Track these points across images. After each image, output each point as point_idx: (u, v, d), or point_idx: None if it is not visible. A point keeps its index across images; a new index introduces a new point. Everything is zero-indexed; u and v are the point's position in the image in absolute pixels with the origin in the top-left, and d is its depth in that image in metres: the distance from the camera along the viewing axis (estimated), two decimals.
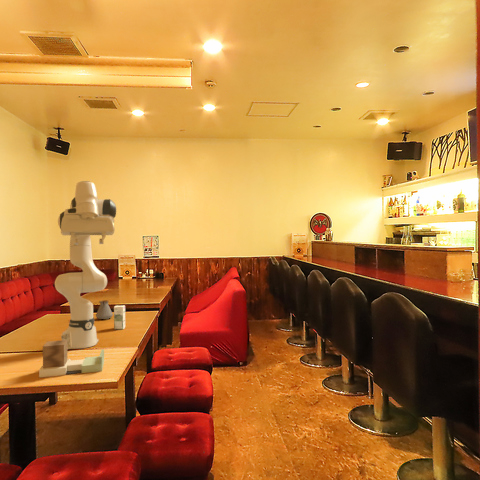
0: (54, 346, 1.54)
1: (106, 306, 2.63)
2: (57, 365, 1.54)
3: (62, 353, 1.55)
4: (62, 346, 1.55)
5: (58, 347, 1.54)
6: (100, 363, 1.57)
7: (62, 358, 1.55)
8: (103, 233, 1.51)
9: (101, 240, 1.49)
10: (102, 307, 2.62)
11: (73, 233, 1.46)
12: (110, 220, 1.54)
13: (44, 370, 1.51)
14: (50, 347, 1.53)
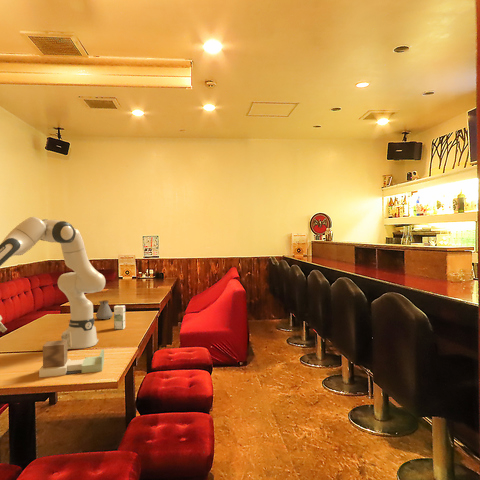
0: (54, 346, 1.54)
1: (106, 306, 2.63)
2: (57, 365, 1.54)
3: (62, 353, 1.55)
4: (62, 346, 1.55)
5: (58, 347, 1.54)
6: (100, 363, 1.57)
7: (62, 358, 1.55)
8: None
9: None
10: (102, 307, 2.62)
11: None
12: None
13: (44, 370, 1.51)
14: (50, 347, 1.53)
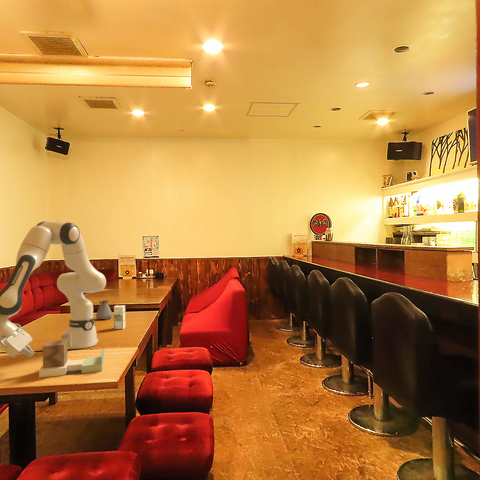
0: (54, 346, 1.54)
1: (106, 306, 2.63)
2: (57, 365, 1.54)
3: (62, 353, 1.55)
4: (62, 346, 1.55)
5: (58, 347, 1.54)
6: (100, 363, 1.57)
7: (62, 358, 1.55)
8: None
9: None
10: (102, 307, 2.62)
11: None
12: None
13: (44, 370, 1.51)
14: (50, 347, 1.53)
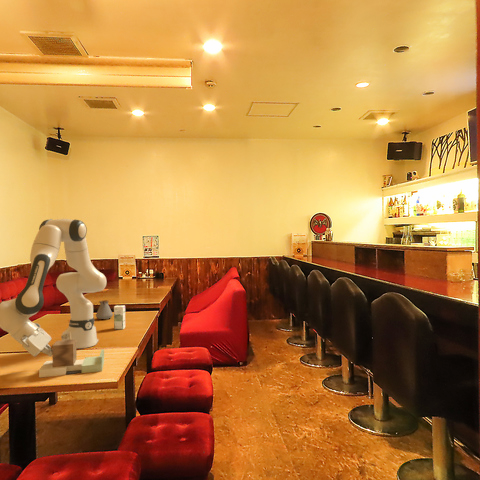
0: (63, 345, 1.55)
1: (106, 306, 2.63)
2: (66, 364, 1.55)
3: (71, 352, 1.56)
4: (71, 345, 1.56)
5: (67, 346, 1.55)
6: (100, 363, 1.57)
7: (71, 357, 1.56)
8: None
9: None
10: (102, 307, 2.62)
11: None
12: None
13: (44, 370, 1.51)
14: (60, 346, 1.54)
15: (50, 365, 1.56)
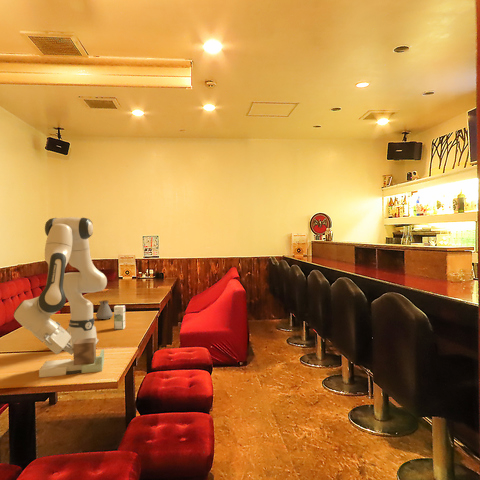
0: (84, 344, 1.57)
1: (106, 306, 2.63)
2: (87, 362, 1.57)
3: (92, 350, 1.58)
4: (92, 344, 1.58)
5: (88, 345, 1.57)
6: (100, 363, 1.57)
7: (92, 355, 1.58)
8: None
9: None
10: (102, 307, 2.62)
11: None
12: None
13: (44, 370, 1.51)
14: (80, 345, 1.56)
15: (50, 365, 1.56)
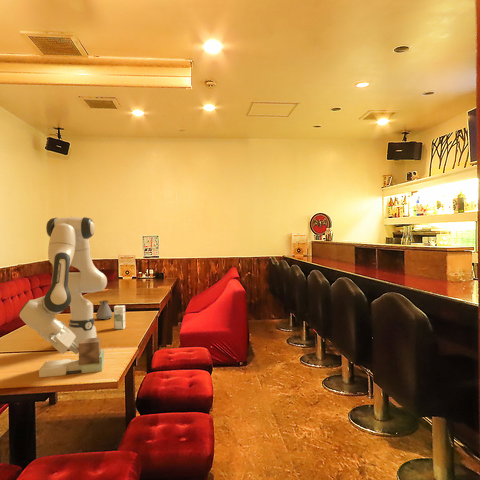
0: (89, 343, 1.57)
1: (106, 306, 2.63)
2: (92, 362, 1.58)
3: (97, 350, 1.58)
4: (97, 343, 1.58)
5: (93, 344, 1.58)
6: (100, 363, 1.57)
7: (97, 355, 1.58)
8: None
9: None
10: (102, 307, 2.62)
11: None
12: None
13: (44, 370, 1.51)
14: (85, 344, 1.57)
15: (50, 365, 1.56)
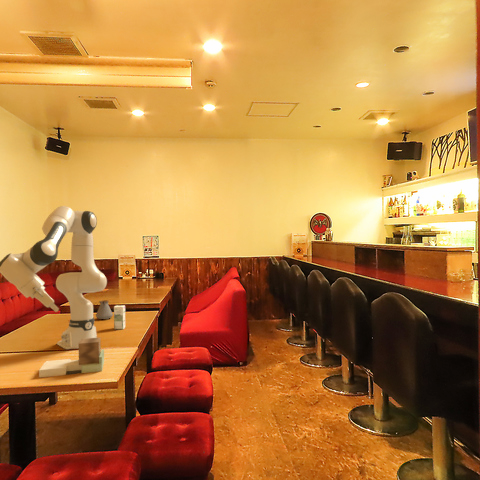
0: (89, 343, 1.57)
1: (106, 306, 2.63)
2: (92, 362, 1.58)
3: (97, 350, 1.58)
4: (97, 343, 1.58)
5: (93, 344, 1.58)
6: (100, 363, 1.57)
7: (97, 355, 1.58)
8: (48, 306, 1.54)
9: (54, 310, 1.56)
10: (102, 307, 2.62)
11: None
12: (37, 298, 1.46)
13: (44, 370, 1.51)
14: (85, 344, 1.57)
15: (50, 365, 1.56)
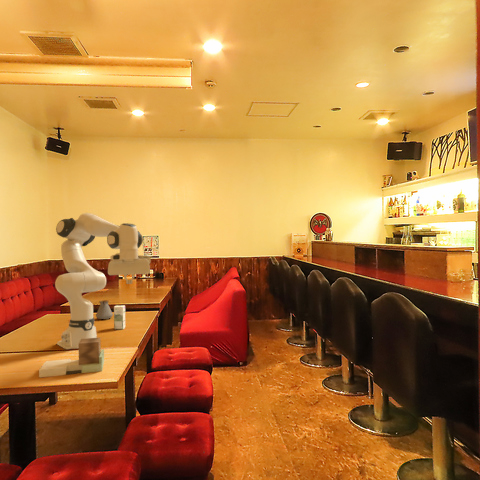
0: (89, 343, 1.57)
1: (106, 306, 2.63)
2: (92, 362, 1.58)
3: (97, 350, 1.58)
4: (97, 343, 1.58)
5: (93, 344, 1.58)
6: (100, 363, 1.57)
7: (97, 355, 1.58)
8: (132, 275, 1.84)
9: (130, 281, 1.83)
10: (102, 307, 2.62)
11: (126, 275, 1.83)
12: (147, 263, 1.85)
13: (44, 370, 1.51)
14: (85, 344, 1.57)
15: (50, 365, 1.56)
